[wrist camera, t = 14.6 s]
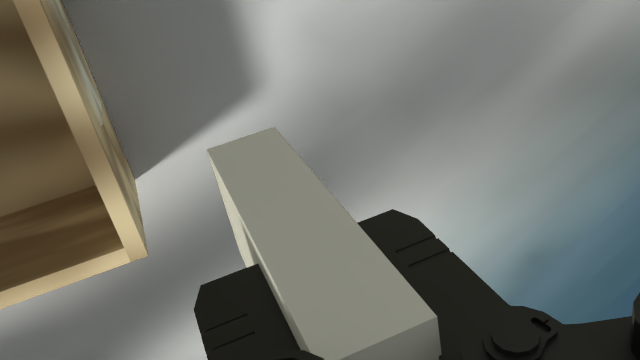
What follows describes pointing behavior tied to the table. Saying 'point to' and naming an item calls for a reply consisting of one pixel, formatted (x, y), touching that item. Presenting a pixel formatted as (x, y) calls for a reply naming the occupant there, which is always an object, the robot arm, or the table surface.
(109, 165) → the open wooden box
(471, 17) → the table surface
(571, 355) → the robot arm
